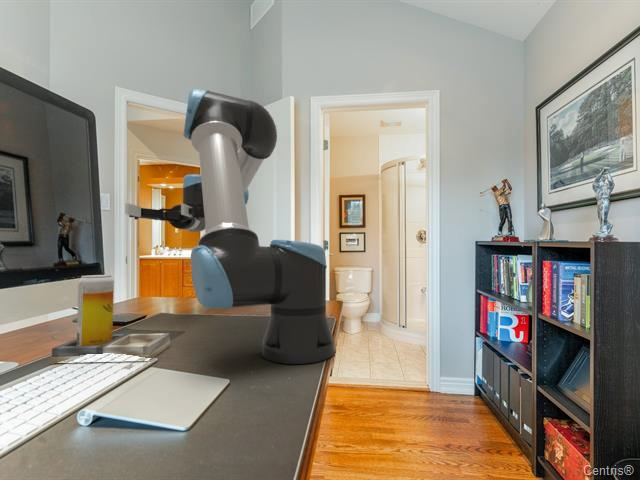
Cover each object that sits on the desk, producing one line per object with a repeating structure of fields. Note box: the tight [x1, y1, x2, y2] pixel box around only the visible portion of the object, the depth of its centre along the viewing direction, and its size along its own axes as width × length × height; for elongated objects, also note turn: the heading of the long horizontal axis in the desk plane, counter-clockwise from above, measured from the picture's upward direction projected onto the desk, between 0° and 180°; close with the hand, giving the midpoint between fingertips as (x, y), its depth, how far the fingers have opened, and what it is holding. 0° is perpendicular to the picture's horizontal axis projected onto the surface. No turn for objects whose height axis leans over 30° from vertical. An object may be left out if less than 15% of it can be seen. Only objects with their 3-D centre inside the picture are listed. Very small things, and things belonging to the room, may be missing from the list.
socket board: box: [49, 332, 171, 365], centre depth 67 cm, size 18×11×3 cm, turn 94°
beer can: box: [76, 274, 115, 346], centre depth 67 cm, size 6×6×15 cm
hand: (154, 208), depth 81 cm, fingers open, 13 cm apart
